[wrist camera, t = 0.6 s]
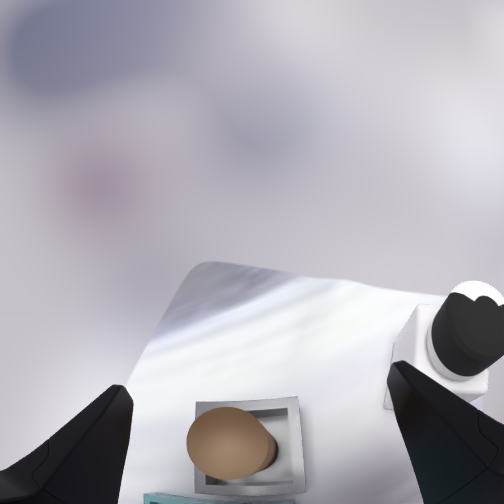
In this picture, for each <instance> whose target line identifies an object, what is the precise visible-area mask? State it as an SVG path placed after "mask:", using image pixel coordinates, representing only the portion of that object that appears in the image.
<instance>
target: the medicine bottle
mask: <svg viewBox="0 0 504 504" xmlns="http://www.w3.org/2000/svg"><path fill="white" fill-rule="evenodd" d="M503 355H504V298H503V296H502V295H501V294H500V293H499V292H498V291H497V290H496V289H495V288H493V287H492V286H490V285H488V284H486V283H483V282H480V281H466V282H463V283H460V284H459V285H457V286H456V287H455V288H454V289H453V290H452V291H451V293H450V294H449V296H448V297H447V299H446V300H445V302H444V303H443V305H442V306H441V307H438V306H432V305H426V304H418V305H417V306H416V308H415V310H414V311H413V313H412V315H411V316H410V318H409V319H408V321H407V323H406V324H405V326H404V327H403V329H402V331H401V332H400V334H399V335H398V337H397V338H396V340H395V341H394V348H393V356H392V363H393V362H396V361H400V360H404V361H406V362H408V363H409V364H411V365H412V366H414V367H415V368H417V369H418V370H420V371H421V372H423V373H424V374H426V375H427V376H429V377H430V378H432V379H433V380H435V381H436V382H438V383H439V384H441V385H442V386H444V387H445V388H447V389H448V390H450V391H451V392H453V393H454V394H456V395H457V396H459V397H460V398H462V399H463V400H465V401H466V402H468V403H469V402H471V401H473V400H475V399H477V398H478V397H480V396H482V395H484V394H485V393H486V392H487V390H488V367H489V366H490V365H492V364H493V363H494V362H496V361H497V360H498V359H499V358H501V357H502V356H503ZM392 363H391V364H392ZM384 407H385V408H386V409H394V408H393V404H392V400H391V396H390V393H389V389H388V387H387V392H386V397H385V402H384Z"/></svg>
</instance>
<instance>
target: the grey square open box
mask: <svg viewBox="0 0 504 504" xmlns="http://www.w3.org/2000/svg"><path fill="white" fill-rule="evenodd" d="M218 407H235V408H239V409H242V410H244V411H246V412H248V413H250V414H251V415H253V416H254V417H255V418H256V419H257V420H258V421H259V422H260V423H261V424H262V425H263V426H264V427H265V428H266V429H267V430H268V432H269V433H270V434H271V435H272V436H273V437H274V438H275V440H276V441H277V444H278V448H279V452H278V456H277V459H276V460H275V462H274V463H273V464H272V465H271V466H270V467H268V468H267V469H265V470H262V471H260V472H257V473H254V474H251V475H249V476H246V477H243V478H239V479H234V480H221V479H216V478H213V477H210V476H208V475H206V474H205V473H203V472H202V471H200V470H199V469H198V468H197V467H196V466H195V493H199V494H210V495H228V496H265V495H283V494H294V493H303V492H306V488H305V474H304V461H303V448H302V437H301V426H300V415H299V405H298V396H295V397H286V398H277V399H265V400H251V401H227V402H196V413H195V420H196V419H197V418H198V417H199V416H200V415H202V414H203V413H205V412H206V411H209V410H211V409H214V408H218Z"/></svg>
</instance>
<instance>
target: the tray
mask: <svg viewBox="0 0 504 504" xmlns="http://www.w3.org/2000/svg"><path fill="white" fill-rule="evenodd" d="M144 504H295V499H289V500H276V501H220V500H206V499H196V498H188V497H180V496H174V495H168V494H162V493H147V494H144Z"/></svg>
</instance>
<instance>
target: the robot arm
mask: <svg viewBox="0 0 504 504" xmlns="http://www.w3.org/2000/svg"><path fill="white" fill-rule="evenodd" d="M387 385H388V389H389V393H390V396H391V400H392V404H393V408H394V412H395V416H396V420H397V423H398V426H399V429H400V431H401V434H402V437H403V440H404V443H405V445H406V448H407V451H408V454H409V457H410V460H411V463H412V466H413V469H414V472H415V475H416V478H417V482H418V485H419V488H420V492H421V495H422V498H423V502H424V504H504V424H502V423H500V422H498V421H496V420H494V419H493V418H491V417H490V416H488V415H486V414H484V413H483V412H482V411H480V410H477V408H476V407H474V406H472V405H471V404H469V403H468V402H466V401H465V400H463V399H462V398H460V397H459V396H457V395H456V394H454V393H453V392H451V391H450V390H448V389H447V388H445V387H444V386H442V385H441V384H439V383H438V382H436V381H435V380H433V379H432V378H430V377H429V376H427V375H426V374H424V373H423V372H421V371H420V370H418V369H417V368H415V367H414V366H412V365H411V364H409V363H408V362H406V361H404V360H400V361H396V362H393V363H392V364H391V367H390V371H389V374H388V378H387ZM133 406H134V404H133V400H132V398H131V396H130V395H129V393H128V391H127V390H126V388H125V387H124V386H122V385H112V386H110V387H109V388H108V389H107V390H106V391H105V392H103V393H102V394H101V395H100V396H99V397H98V398H96V399H95V400H94V401H93V402H92V403H90V404H89V405H88V406H87V407H86V408H85V409H83V410H82V411H81V412H80V413H79V414H77V415H76V416H75V417H74V418H73V419H72V420H70V421H69V422H68V423H67V424H66V425H64V426H63V427H62V428H61V429H60V430H58V431H57V432H56V433H55V434H54V435H52V436H51V437H50V438H49V439H48V440H46V441H45V442H44V443H43V444H42V445H40V446H39V447H38V448H36V449H35V450H34V451H32V452H31V453H30V454H28V455H27V456H25V457H24V458H22V459H21V460H19V461H18V462H16V463H15V464H13V465H11V466H10V467H8V468H7V469H5V470H2V471H0V504H118V498H119V492H120V486H121V480H122V475H123V470H124V465H125V460H126V455H127V450H128V445H129V440H130V432H131V422H132V414H133Z"/></svg>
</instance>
